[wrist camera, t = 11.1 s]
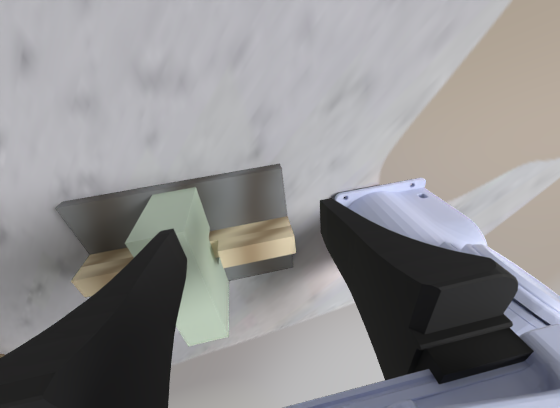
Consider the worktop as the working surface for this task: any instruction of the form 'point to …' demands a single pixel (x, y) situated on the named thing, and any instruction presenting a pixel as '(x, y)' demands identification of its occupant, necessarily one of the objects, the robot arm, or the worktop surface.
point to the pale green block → (189, 263)
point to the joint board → (220, 215)
